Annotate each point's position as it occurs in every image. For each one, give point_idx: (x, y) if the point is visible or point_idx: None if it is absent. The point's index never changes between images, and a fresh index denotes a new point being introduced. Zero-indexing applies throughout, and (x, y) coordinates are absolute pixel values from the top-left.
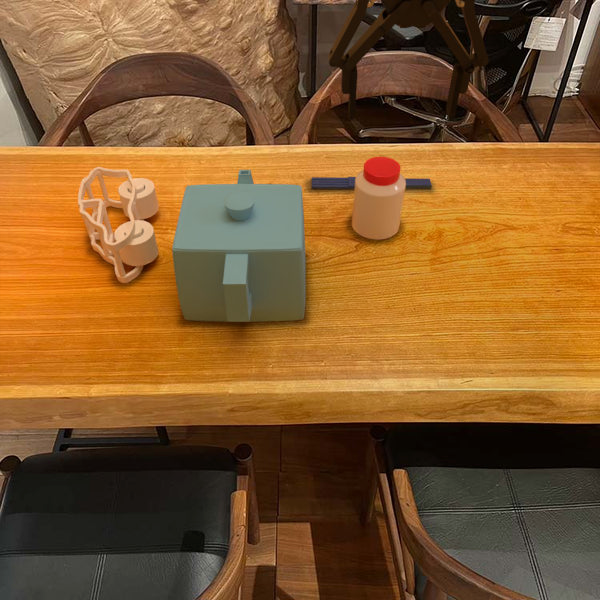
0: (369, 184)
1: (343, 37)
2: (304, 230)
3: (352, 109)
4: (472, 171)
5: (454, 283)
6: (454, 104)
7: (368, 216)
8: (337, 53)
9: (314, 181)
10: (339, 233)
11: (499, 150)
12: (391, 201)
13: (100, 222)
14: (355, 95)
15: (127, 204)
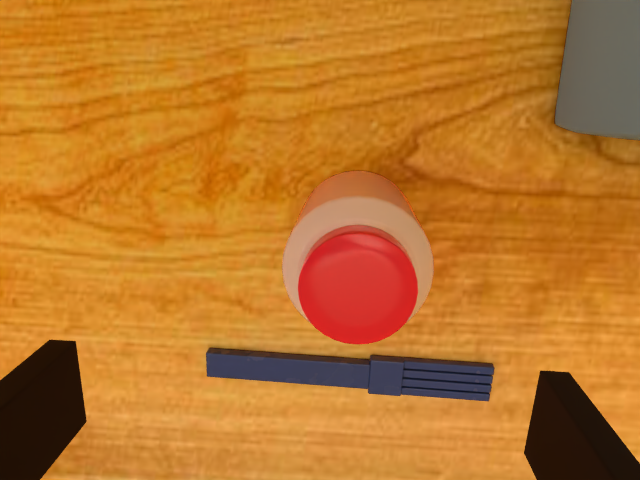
0: (400, 237)
1: None
2: (619, 70)
3: (579, 406)
4: (108, 402)
5: (195, 3)
6: (11, 386)
7: (390, 190)
8: None
9: (484, 385)
10: (448, 198)
11: None
12: (332, 195)
13: None
14: (609, 468)
15: None
